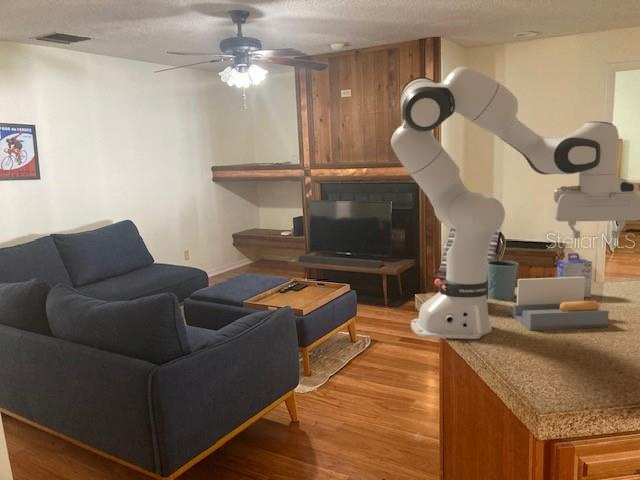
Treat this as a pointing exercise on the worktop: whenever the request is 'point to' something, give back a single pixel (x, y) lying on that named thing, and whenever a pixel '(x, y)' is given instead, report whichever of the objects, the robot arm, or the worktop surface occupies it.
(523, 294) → the cover
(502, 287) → the teal cup
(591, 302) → the orange capsule pill
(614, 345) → the worktop surface
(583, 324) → the grooved grey base
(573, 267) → the ink cartridge box
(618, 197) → the robot arm
